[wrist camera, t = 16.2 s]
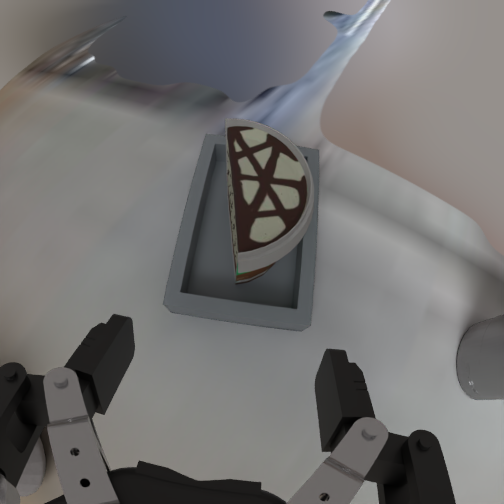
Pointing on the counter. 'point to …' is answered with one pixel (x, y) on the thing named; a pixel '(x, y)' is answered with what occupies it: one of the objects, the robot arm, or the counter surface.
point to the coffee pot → (33, 471)
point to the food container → (264, 196)
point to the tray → (221, 260)
